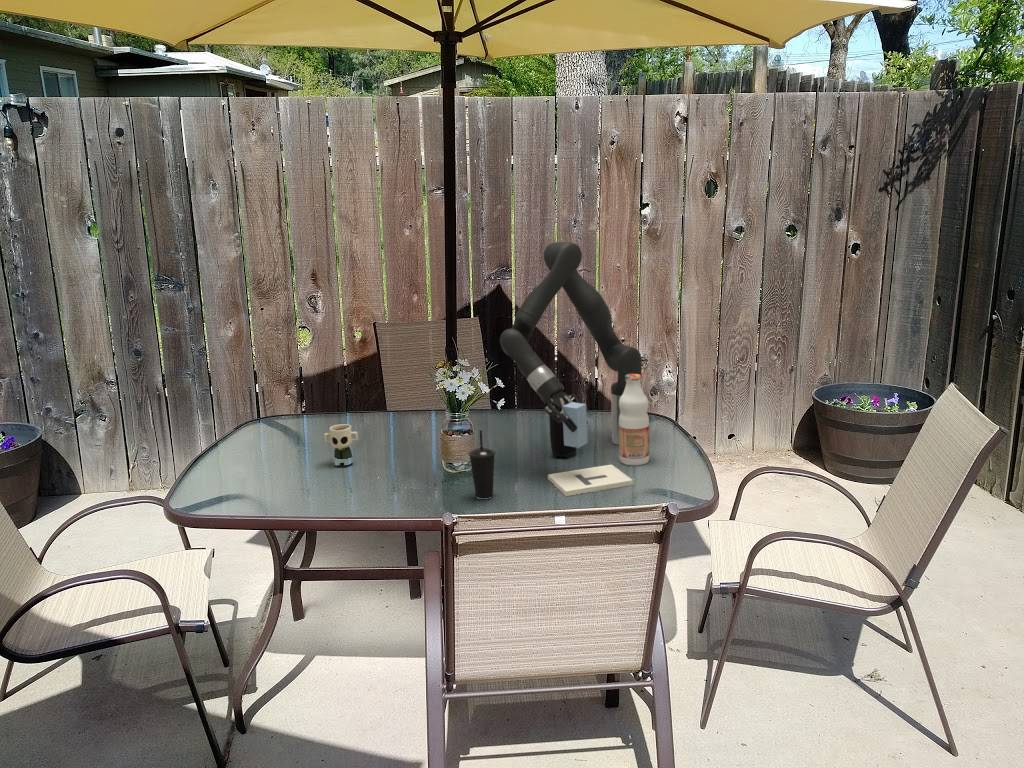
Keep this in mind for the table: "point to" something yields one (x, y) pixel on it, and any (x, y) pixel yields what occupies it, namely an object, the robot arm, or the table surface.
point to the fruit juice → (633, 423)
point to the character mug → (341, 440)
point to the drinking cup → (482, 469)
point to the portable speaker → (559, 440)
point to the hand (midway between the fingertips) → (580, 427)
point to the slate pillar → (580, 420)
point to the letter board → (589, 480)
